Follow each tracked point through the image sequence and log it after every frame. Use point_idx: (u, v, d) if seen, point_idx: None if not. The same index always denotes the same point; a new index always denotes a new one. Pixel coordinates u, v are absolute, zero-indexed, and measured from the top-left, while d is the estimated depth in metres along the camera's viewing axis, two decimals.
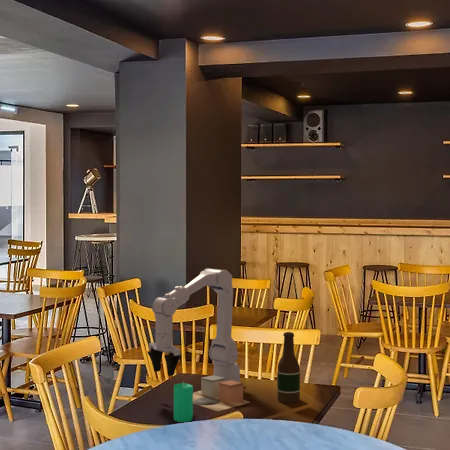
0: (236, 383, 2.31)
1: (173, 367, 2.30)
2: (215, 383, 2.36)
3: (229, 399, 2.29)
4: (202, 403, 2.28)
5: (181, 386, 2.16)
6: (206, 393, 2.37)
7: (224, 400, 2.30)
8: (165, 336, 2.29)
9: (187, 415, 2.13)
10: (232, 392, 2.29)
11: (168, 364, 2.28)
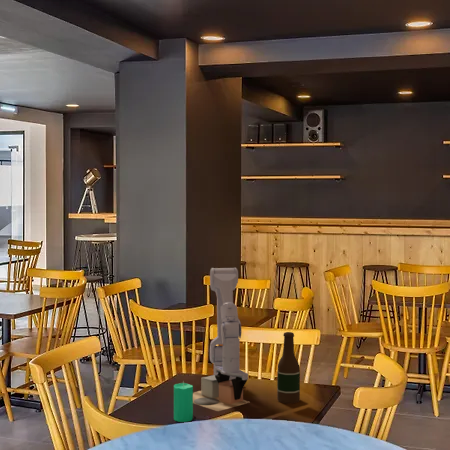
0: None
1: (239, 391, 2.30)
2: (215, 383, 2.36)
3: (229, 399, 2.29)
4: (202, 403, 2.28)
5: (181, 386, 2.16)
6: (206, 393, 2.37)
7: (224, 400, 2.30)
8: (233, 360, 2.29)
9: (187, 415, 2.13)
10: (232, 392, 2.29)
11: (235, 388, 2.28)
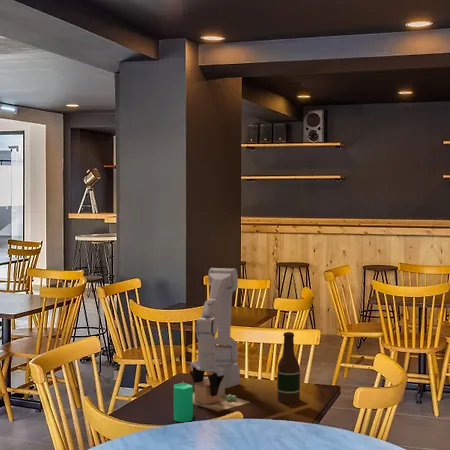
0: None
1: (216, 387, 2.28)
2: None
3: (204, 400, 2.27)
4: (202, 403, 2.28)
5: (181, 386, 2.16)
6: None
7: (200, 401, 2.29)
8: (208, 356, 2.28)
9: (187, 415, 2.13)
10: (208, 392, 2.27)
11: (211, 384, 2.26)
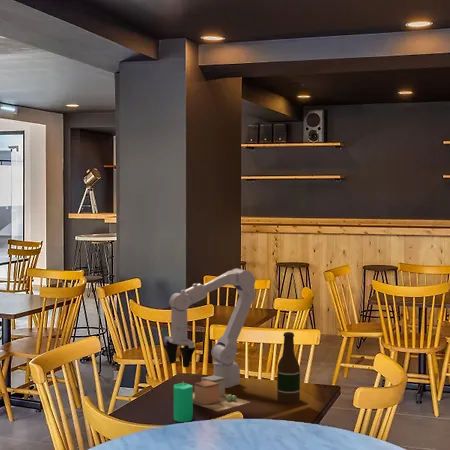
0: (212, 383, 2.30)
1: (188, 359, 2.42)
2: None
3: (204, 400, 2.27)
4: (202, 403, 2.28)
5: (181, 386, 2.16)
6: None
7: (200, 401, 2.29)
8: (180, 330, 2.42)
9: (187, 415, 2.13)
10: (208, 392, 2.27)
11: (183, 356, 2.40)
